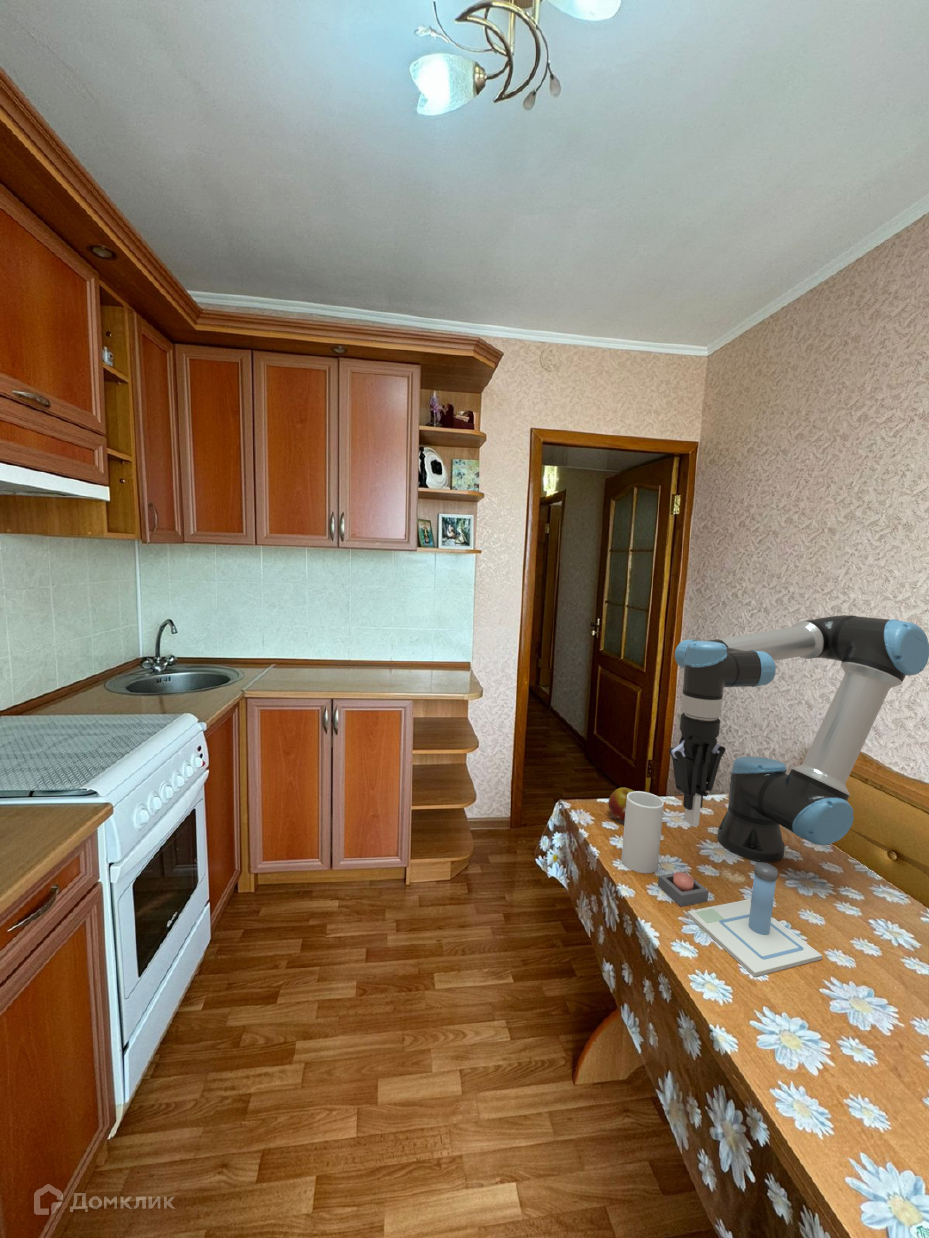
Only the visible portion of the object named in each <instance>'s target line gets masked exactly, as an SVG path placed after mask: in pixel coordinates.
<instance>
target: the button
mask: <svg viewBox="0 0 929 1238" xmlns="http://www.w3.org/2000/svg"><path fill="white" fill-rule="evenodd" d="M683 872H684V871H676V872H673V873H674V878H673V885H675V886H676V887H677V888H678V889H679V890H680V891H681V892H685V891H690V890H693V884H694V878H693V876H692V875H691V874H689V873H687V872H686V873H687V874H686V873H683ZM688 874H689V875H688Z"/></svg>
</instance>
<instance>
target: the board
mask: <svg viewBox="0 0 929 1238" xmlns="http://www.w3.org/2000/svg"><path fill="white" fill-rule="evenodd" d="M750 907H751V899H742V900H738V901H733V902H732V901H731V902H728V903H722V904H718V905H717V904H716V905H712V906H708V907H702V908H698V909H692V910H688V911H687V914H686V915H687V917H688V918H690V919H691V920H692V921H693V922H694V923H695V924H697V926H698V927H700V929H702V931H704V932H705V933H706V934H707V935H709V937H710V938H711V939H712V940H714V941H715V942H716V943H717V944H718V945H719V946H720V947H721V948H722V949H724V950H725V951H726V952H727V954H729V956H731V957H732V958H733V959H734V960H736V962H738V963H739V965H740V966H742V967H743V969H745V970H746V971H747V972H748V973H750V974H751V976H753V977H754V978H756V977H760V976H763V975H768V974H772V973H776V972H779V971H782V970H787V969H791V968H794V967H798V966H801V965H805V964H809V963H813V962H817V961H821V960H823V955H822V954H821V953H820V952H818V950H817V949H815V948H814V947H812V946H811V945H810V944H808V943H807V942H806V941H805V940H803V939H801V938H800V937H799V936H798V935H797V934H795V933H794V932H792V931H791V930H790V929H788V928H787V927H786V926H784V925H783V924H782V923H781V922H779V921H778V920H777V919H775V918H774V917H771V925H770V933H769V934H768V935H761V934H758V933H756V932H754V931H753V930H751V929H750V928H749V926H748V924H749V915H750Z"/></svg>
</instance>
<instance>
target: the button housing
mask: <svg viewBox="0 0 929 1238" xmlns="http://www.w3.org/2000/svg"><path fill="white" fill-rule="evenodd" d="M682 872H683V873H686V874H688V875H690V874H689V873H688V872H686V871H685V870H684V871H682ZM674 873H675V872H673V873H672V872H671V873H667V874H660V875H658V882H657V887H659V888H660V889H661V890H662V891H663V892H664V893H665V894H666V895H667V896H668V897H669V898H670V899H672V900H673V901H674V902H675V903H676V904H677V905H678V906H679V907H684V906H689V905H695V904H701V903H705V902H708V901H709V900H708V899H709V890H708V889H707V888H706V887H705V886H703V885H702V884H701V883H700V882H698V881H697V880H696V879H694V878H693V879H694V884H693V890H690V891H685V892H681V891H680V890H679V889H678V888H677V887H676V886H675V885H673V878H674Z"/></svg>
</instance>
